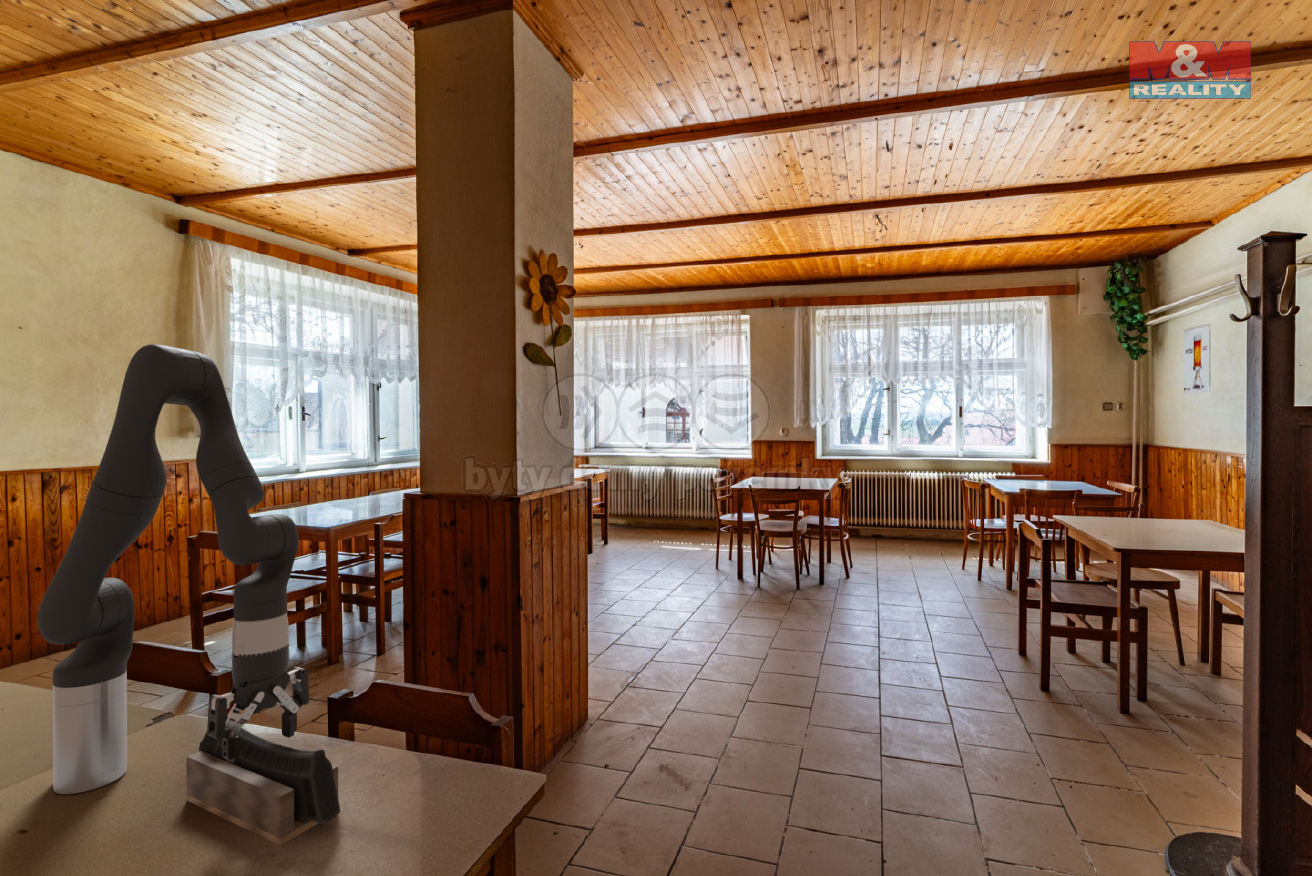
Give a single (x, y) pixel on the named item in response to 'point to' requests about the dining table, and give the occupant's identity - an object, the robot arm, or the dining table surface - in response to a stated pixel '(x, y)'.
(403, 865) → the dining table surface
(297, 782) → the magazine
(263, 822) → the slot block
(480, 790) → the dining table surface
